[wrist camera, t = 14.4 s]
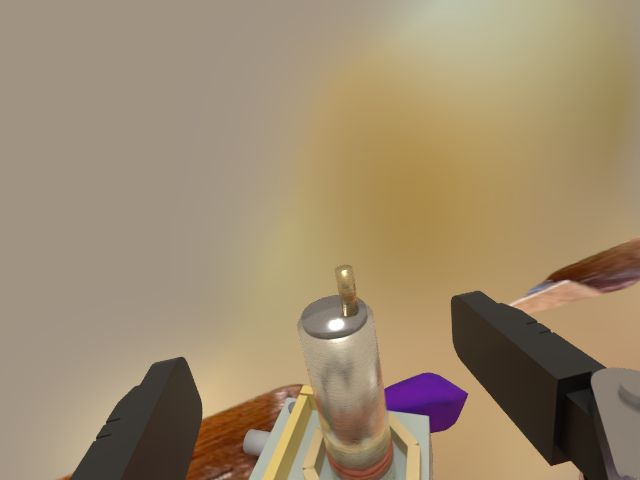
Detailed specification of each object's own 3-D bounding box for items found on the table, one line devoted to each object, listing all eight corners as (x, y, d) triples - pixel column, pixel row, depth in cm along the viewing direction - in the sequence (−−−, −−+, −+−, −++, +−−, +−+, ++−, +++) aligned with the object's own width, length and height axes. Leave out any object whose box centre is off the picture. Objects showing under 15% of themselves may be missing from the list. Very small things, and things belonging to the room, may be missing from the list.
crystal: (338, 390, 40) (455, 362, 38) (348, 417, 41) (461, 391, 40) (341, 424, 35) (474, 394, 34) (352, 453, 37) (479, 425, 35)
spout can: (324, 500, 26) (270, 290, 20) (341, 438, 31) (302, 255, 25) (394, 516, 24) (358, 289, 18) (399, 447, 29) (372, 251, 23)
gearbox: (216, 540, 30) (186, 484, 27) (270, 427, 41) (253, 378, 38) (434, 616, 23) (426, 551, 20) (432, 456, 33) (426, 397, 31)
